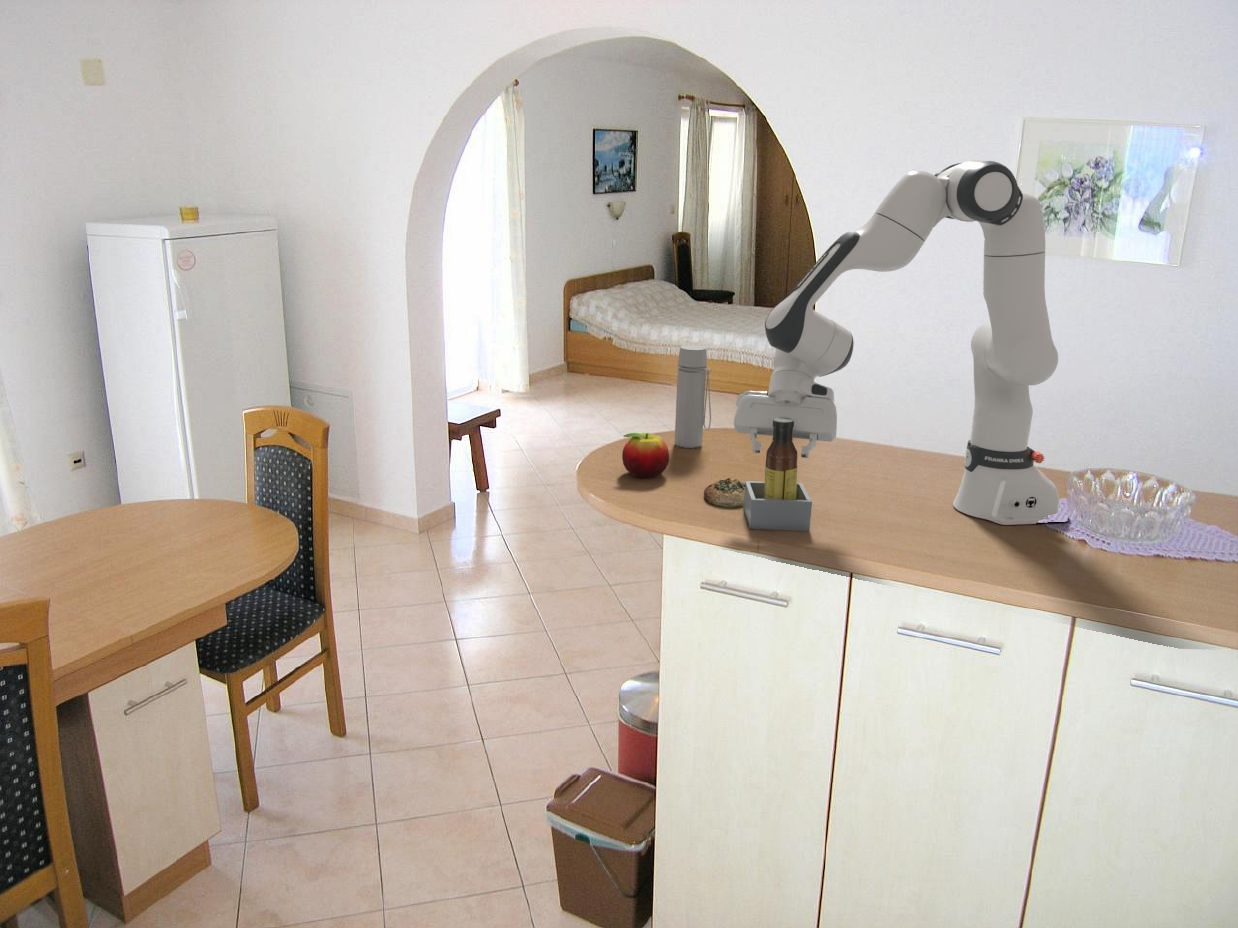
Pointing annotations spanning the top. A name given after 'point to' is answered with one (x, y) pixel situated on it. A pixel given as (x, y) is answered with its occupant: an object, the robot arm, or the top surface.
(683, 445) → the water bottle
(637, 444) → the fruit
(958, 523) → the top surface
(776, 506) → the bin
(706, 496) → the bread roll
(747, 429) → the robot arm
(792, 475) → the sauce bottle
